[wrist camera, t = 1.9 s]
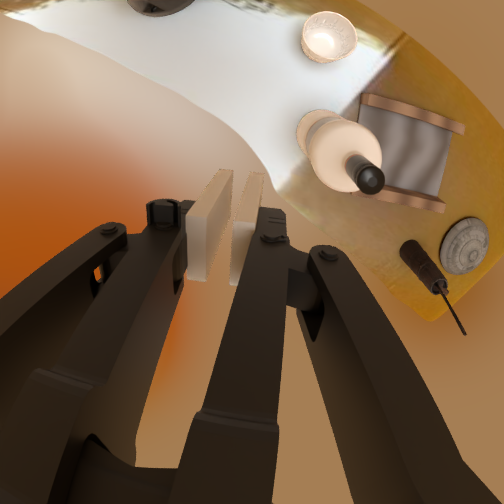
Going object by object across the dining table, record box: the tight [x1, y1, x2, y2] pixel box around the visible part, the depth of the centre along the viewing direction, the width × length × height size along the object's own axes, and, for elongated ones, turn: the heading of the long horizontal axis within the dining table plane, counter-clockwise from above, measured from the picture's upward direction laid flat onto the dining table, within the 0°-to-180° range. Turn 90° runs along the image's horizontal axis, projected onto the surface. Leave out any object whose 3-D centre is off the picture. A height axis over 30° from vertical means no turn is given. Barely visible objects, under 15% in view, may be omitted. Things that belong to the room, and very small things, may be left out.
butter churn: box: [400, 240, 466, 336], centre depth 46 cm, size 9×10×28 cm
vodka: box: [297, 110, 385, 195], centre depth 35 cm, size 9×9×30 cm
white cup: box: [301, 11, 357, 63], centre depth 36 cm, size 8×8×10 cm
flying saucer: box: [440, 218, 489, 275], centre depth 54 cm, size 15×15×6 cm
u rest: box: [350, 93, 465, 213], centre depth 46 cm, size 20×18×5 cm
